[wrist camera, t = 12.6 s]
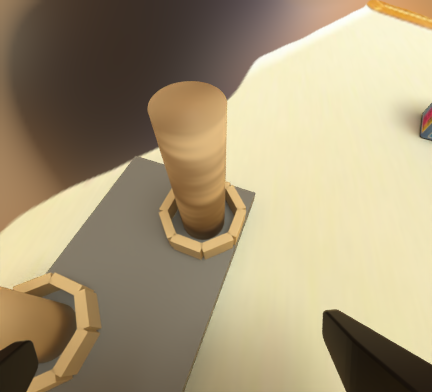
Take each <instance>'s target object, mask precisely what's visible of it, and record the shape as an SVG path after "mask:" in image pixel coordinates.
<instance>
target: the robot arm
mask: <svg viewBox="0 0 432 392" xmlns="http://www.w3.org/2000/svg"><path fill="white" fill-rule="evenodd" d="M322 334H323V339H324V342H325V344H326V346H327V349H328V351H329V353H330V355H331V358H332V360H333V362H334V365H335V367H336V369H337V372H338V374H339V376H340V378H341V381H342V383H343V385H344V388H345V390H346V392H432V364H430V363H428V362H426V361H425V360H423V359H421V358H420V357H418V356H416V355H414V354H413V353H411V352H409V351H408V350H406V349H404V348H402V347H401V346H399V345H397V344H396V343H394V342H392V341H390V340H389V339H387V338H385V337H384V336H382V335H380V334H379V333H377V332H375V331H373V330H372V329H370V328H368V327H367V326H365V325H363V324H361V323H360V322H358V321H356V320H355V319H353V318H351V317H349V316H348V315H346V314H344V313H343V312H341V311H339V310H336V309H334V310H325V311H324V312H323V328H322ZM38 364H39V362H38V358H37V354H36V351H35V347H34V344H33V342H32V341H31V340H22V341H16V342H14V343H12V344H10V345H8V346H7V347H5V348H4V349H2V350H0V392H27V390H28V388H29V386H30V384H31V382H32V380H33V378H34V376H35V374H36V372H37V369H38Z"/></svg>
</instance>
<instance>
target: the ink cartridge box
mask: <svg viewBox="0 0 432 392" xmlns="http://www.w3.org/2000/svg"><path fill="white" fill-rule="evenodd" d="M420 137H422V138H426V139H430V140H432V103H431V104H430V105H429V107H428V108H427V109H426V110H425V111H424V112H423V116H422V125H421V134H420Z"/></svg>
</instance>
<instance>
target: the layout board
mask: <svg viewBox="0 0 432 392" xmlns="http://www.w3.org/2000/svg"><path fill="white" fill-rule="evenodd" d="M254 197H255V193H254V192H251V191H248V190H245V189H241V188H238V187H235V186H233V185H230V183H229V182H226V181H225V220H224V226H223V229H222V230H221V232H220V233H219V234H218V235H217V236H215V237H213V238H211V239H207V240H199V239H195V238H193V237H191V236H190V235H189V234H188V233H187V232H186V230H185V228H184V225H183V222H182V219H181V216H180V212H179V209H178V206H177V203H176V200H175V196H174V193H173V190H172V187H171V184H170V180H169V177H168V174H167V171H166V168H165V165H164V164H160V163H157V162H154V161H151V160H148V159H144V158H141V157H138V156H135V158H134V159H133V160H132V161H131V163H130V164H129V165H128V167H127V168H126V169H125V171H124V172H123V173H122V175H121V176H120V177H119V179H118V180H117V181H116V182H115V184H114V185H113V186H112V188H111V189H110V190H109V192H108V193H107V194H106V196H105V197H104V198H103V199H102V201H101V202H100V203H99V205H98V206H97V207H96V209H95V210H94V211H93V213H92V214H91V215H90V217H89V218H88V219H87V220H86V222H85V223H84V224H83V226H82V227H81V228H80V230H79V231H78V232H77V234H76V235H75V236H74V238H73V239H72V240H71V241H70V243H69V244H68V245H67V247H66V248H65V249H64V251H63V252H62V253H61V255H60V256H59V257H58V258H57V260H56V261H55V262H54V264H53V265H52V266H51V268H50V269H49V270H48V272H47V273H46V274H45V275H43V276H40V277H37V278H35V279H32V280H30V281H27V282H24V283H22V284H19V285H17V286H14V287H13V290H11V289H8V288H4V287H0V350H2V349H4V348H5V347H7V346H8V345H10V344H12V343H14V342H16V341H22V340H31V341H32V342H33V344H34V347H35V351H36V354H37V358H38V362H39V364H38V369H37V372H36V374H35V376H34V378H33V380H32V382H31V384H30V386H29V388H28V390H27V392H184V390H185V387H186V384H187V381H188V379H189V376H190V373H191V371H192V368H193V365H194V362H195V360H196V357H197V354H198V351H199V349H200V346H201V343H202V340H203V338H204V335H205V332H206V329H207V327H208V324H209V321H210V319H211V316H212V313H213V310H214V308H215V305H216V302H217V299H218V297H219V294H220V291H221V288H222V286H223V283H224V280H225V278H226V275H227V272H228V269H229V267H230V264H231V261H232V258H233V256H234V253H235V250H236V247H237V245H238V242H239V239H240V236H241V234H242V231H243V228H244V226H245V223H246V220H247V217H248V215H249V212H250V209H251V206H252V204H253V201H254Z"/></svg>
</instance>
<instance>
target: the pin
mask: <svg viewBox="0 0 432 392" xmlns="http://www.w3.org/2000/svg"><path fill="white" fill-rule="evenodd" d="M148 113H149V116H150V119H151V123H152V126H153V129H154V132H155V136H156V139H157V142H158V145H159V148H160V152H161V155H162V158H163V161H164V164H165V168H166V171H167V174H168V177H169V180H170V184H171V187H172V190H173V193H174V196H175V200H176V203H177V206H178V209H179V212H180V216H181V219H182V222H183V225H184V228H185V230H186V232H187V233H188V234H189V235H190V236H191V237H193V238H195V239H199V240H207V239H211V238H213V237H215V236H217V235H218V234H219V233H220V232H221V230H222V229H223V226H224V220H225V175H226V130H227V100H226V97H225V95H224V94H223V93H222V92H221V91H220V90H219V89H218V88H216V87H214V86H212V85H210V84H207V83H203V82H196V81H186V82H179V83H175V84H171V85H169V86H166V87H164V88H162V89H161V90H159V91H158V92H157V93H156V94H155V95H154V96H153V97H152V98H151V100H150V102H149V104H148Z"/></svg>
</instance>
